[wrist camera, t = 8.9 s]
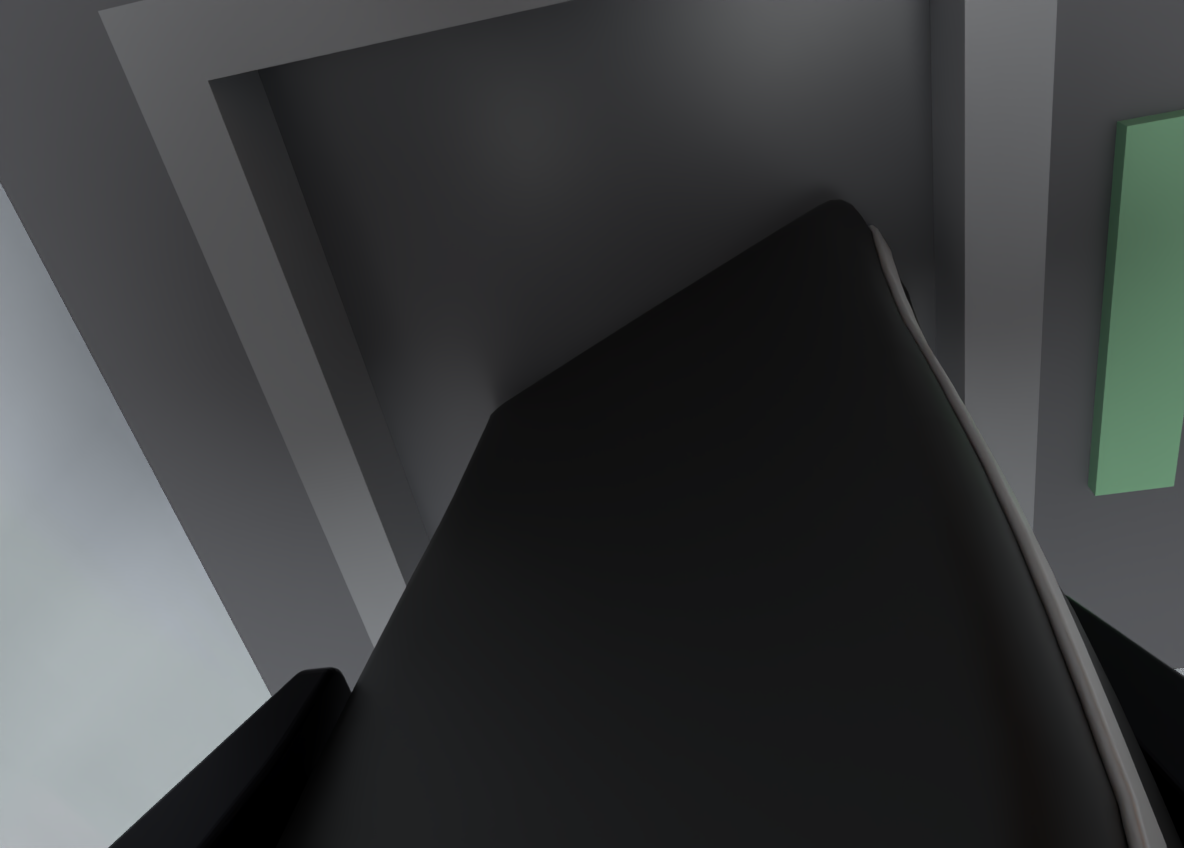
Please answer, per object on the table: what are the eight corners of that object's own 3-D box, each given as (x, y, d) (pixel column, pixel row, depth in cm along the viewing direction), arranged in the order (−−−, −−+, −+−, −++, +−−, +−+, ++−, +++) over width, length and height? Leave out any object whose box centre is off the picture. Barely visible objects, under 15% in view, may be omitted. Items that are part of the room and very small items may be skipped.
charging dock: (1303, -324, 10) (1469, -381, 8) (1164, 630, 18) (1235, 730, 16) (-41, 7, 13) (-175, 28, 11) (315, 715, 20) (275, 811, 18)
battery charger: (611, 565, 16) (419, 1562, 7) (477, 410, 15) (-9, 1360, 5) (982, 378, 14) (1621, 1633, 4) (856, 169, 12) (1320, 1236, 2)
